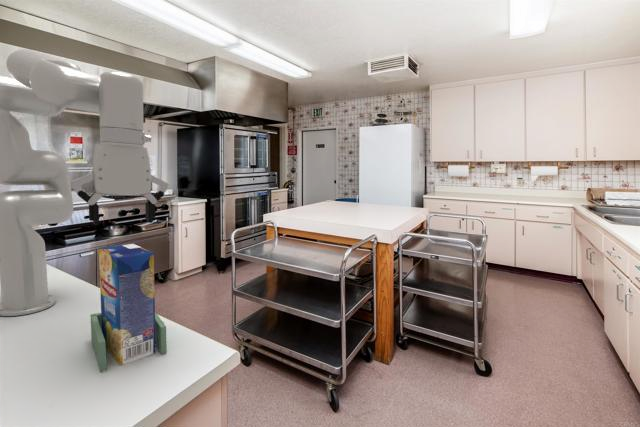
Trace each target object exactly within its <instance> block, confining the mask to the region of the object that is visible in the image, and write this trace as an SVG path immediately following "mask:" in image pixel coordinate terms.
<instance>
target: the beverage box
mask: <svg viewBox="0 0 640 427" xmlns="http://www.w3.org/2000/svg"><path fill="white" fill-rule="evenodd" d="M154 255H155V253H154V252H153V251H151V250H148V249H147V248H144V247H142V246H139V245H137V244H135V243H128V244H120V245H112V246H111V245H110V246H105V247H104V246H103V247H102V246H101V247H98V266H99V287H100V288H99V289H100V290H99V291H100V313H101V317H102V333H103V336H104V339H105V346H106V352H108V353H109V354H110V356H111V357H113V358H114V360H115V361H116V362H117V363H118V364H119V365H120V366H123V365H126V364H129V363H132V362H133V361H137V360H140V359H142V358H145V357H147V356H150V355H153V354H156V353H157V351H156V349H157V348H156V347H157V346H156V341H155V312H156V307H155V306H156V305H155V303H156V302H155V301H156V300H155V299H156V298H155V297H156V295H155V294H156V292H155V256H154Z"/></svg>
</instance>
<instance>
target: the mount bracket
mask: <svg viewBox="0 0 640 427" xmlns="http://www.w3.org/2000/svg"><path fill="white" fill-rule="evenodd" d="M90 330H91V342H92V346H93V350H94V354H95V357H96V361H97V364H98V368H99V372H100V373H102V372H106V371H107V350H106V346H105V339H104V336H103V333H102V317H101V312H97V313H93V314H90ZM155 341H156V347H157V348H156V349H158V351H159V352H160V355H164V354H167V352H168V350H167V325H166V324H165V323H164V322H163V320H162V318H161V317H160V316H159V315H158V313H157V312H156V311H155Z"/></svg>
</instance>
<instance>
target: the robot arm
mask: <svg viewBox="0 0 640 427" xmlns="http://www.w3.org/2000/svg"><path fill="white" fill-rule="evenodd" d="M5 64H6V69H7V71H8V73H9V74H10V75H6V74H1V73H0V185H4V186H43V187H44V189H37V190H35V189H30V190H29V189H28V190H26V189H25V190H8V191H3V192H0V294H1V296H0V297H1V302H0V316H1V317H17V316H24V315H29V314H34V313H37V312H40V311H44V310H46V309H48V308H51V307H52V306H53V305H55V304H56V302H57V300H56V297H55V296H54V295H51V294H49V286H48V285H49V284H48V268H47V254H46V243H45V239H44V238H43V237H42V236H41V235H40V234H39V233H38V232H37V231H36V230H35V229H34V228H33V227H36V226H42V225H52V224H60V223H65V222H67V221H69V220H70V219H71V218H72V216H73V213H74V200H73V194H72V189H73V190H74V192H75V193H76V195H77V197H79V198H80V199H82V200H83V201H84V202H85V203H87V204H88V219H89V221H90V222H92V223H93V225H94V226H99V225H100V207H99V204H98V201H100V199H101V198H102V197H104V196H143V197H144V198H145V199H146V203H145V221H146V222H147V223H153V221H154V220H153V219H155V218H156V204H157V203H158V202H159V201H160V200H161V199H162V198H163V197H164V195H165V193H166V191H167V189H169V183H168V182H166V181H164V180H162V179H159V178H158V177H156V176H154V175H152V170H151V161H150V157H149V156H150V155H149V151H148V148H147V147H145V146H144V145H145V143H152V136H151V135H148V134H146V133H145V131H144V84H143V82H142V80H141V79H140V78H139V77H137V76H135V75H133V74H130V73H129V74H128V73H126V72H120V71H104V72H102V73H100V75H99V74H96V73H92V72H87V71H85V70H82V69H81V67H79V66H78V64H76V63H75V62H73V61H71V60H68V59H65V58H62V57H58V56H54V55H52V54H51V55H50V54H47V53H44V52H40V51H38V50H34V49H32V50H31V49H18V50H15V51H13V52H11V53H10V54H9V55H8V56H7V59H6V63H5ZM66 109H70V110H78V111H84V112H91V113H95V114H99V140H100V141H99V143H95V145H94V150H93V156H92V172H91V173H87V174H86V175H84V176H80V177H78V178H76V179H74V180H71V181H70V173H69V169H68V164H67V162H66V161H65V159H64V158H63V156H62V155H60V154H59V153H57V152H54V151H50V150H36V149H34V148H32V146H31V139H30V133H29V131H28V129H27V128H26V127H25V125H24V124H23V123H22V122H21V121H20V120H19V119H18V118H17V117H16V116H15V115H13V114H12V113H11V112H13V113H19V114H20V113H22V114H28V115H35V116H42V117H48V118H49V117H56V116H59V115H60V114H61V113H62V112H64V111H65V110H66ZM90 182H92V190H93V192H92V193H91V194H90V195H89V194H88V193H87V192H85V190H84V189H83V185H85V184H87V183H90ZM152 183H153V184H155V185H157V186H158V187H159V188H158V190H156V192H155V193H154V194H152V189H153V188H152ZM71 187H72V188H71Z"/></svg>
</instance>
